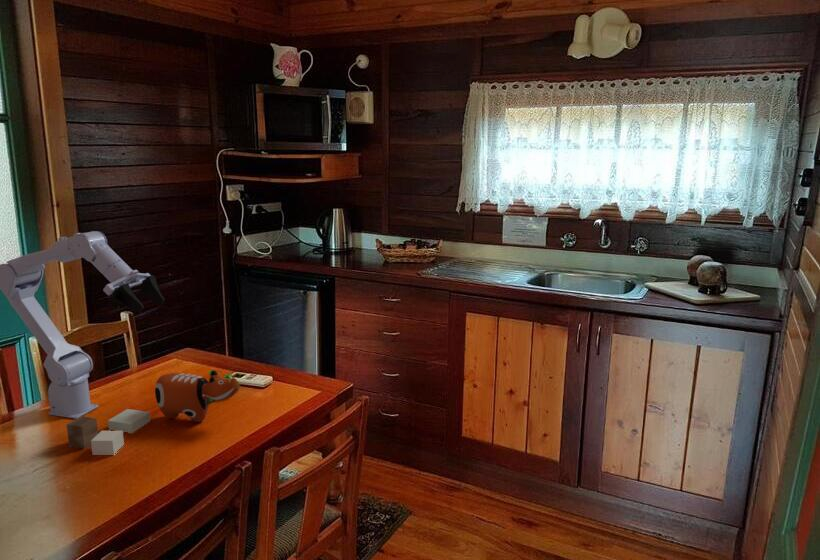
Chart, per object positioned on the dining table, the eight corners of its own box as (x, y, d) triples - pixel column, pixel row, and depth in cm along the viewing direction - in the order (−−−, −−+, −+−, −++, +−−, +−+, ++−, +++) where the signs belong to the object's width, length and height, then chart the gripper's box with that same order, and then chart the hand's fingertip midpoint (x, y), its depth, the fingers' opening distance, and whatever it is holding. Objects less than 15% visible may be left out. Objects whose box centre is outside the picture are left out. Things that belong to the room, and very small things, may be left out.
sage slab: (109, 431, 149) (107, 420, 148) (128, 419, 155) (127, 409, 155) (132, 434, 147) (131, 424, 146) (150, 422, 154) (149, 412, 153)
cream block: (92, 456, 136) (90, 440, 135) (103, 445, 141) (101, 430, 140) (114, 456, 136) (112, 440, 135) (124, 445, 141) (122, 430, 140)
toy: (230, 435, 147) (226, 379, 143) (149, 425, 151) (144, 371, 148) (249, 417, 156) (246, 365, 153) (172, 409, 161) (168, 358, 158)
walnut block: (69, 447, 140) (66, 424, 139) (83, 438, 144) (81, 416, 143) (84, 449, 139) (81, 426, 138) (99, 440, 143) (96, 418, 142)
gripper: (99, 262, 137) (139, 302, 137) (142, 252, 151) (178, 289, 150) (85, 283, 139) (125, 322, 139) (129, 271, 153) (164, 307, 153)
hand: (152, 306), depth 145 cm, fingers open, 7 cm apart
